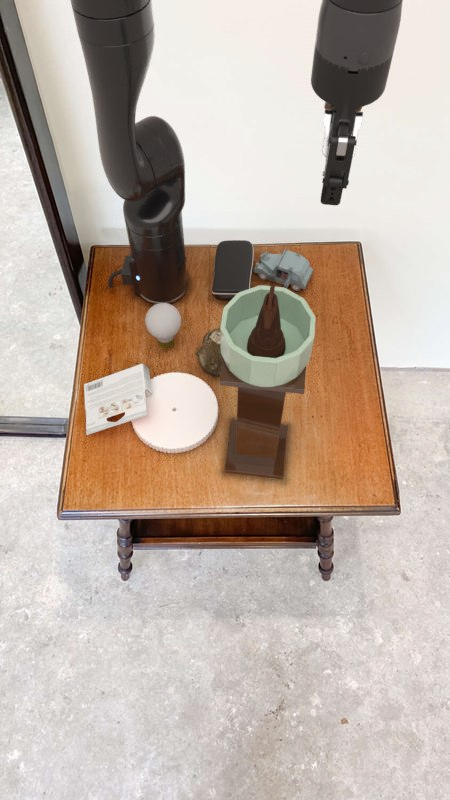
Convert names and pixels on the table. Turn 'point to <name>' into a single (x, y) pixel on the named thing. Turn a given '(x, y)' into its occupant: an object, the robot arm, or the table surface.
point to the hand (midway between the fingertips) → (331, 176)
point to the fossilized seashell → (211, 353)
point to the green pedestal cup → (263, 379)
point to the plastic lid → (177, 413)
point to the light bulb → (163, 323)
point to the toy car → (285, 269)
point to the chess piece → (267, 330)
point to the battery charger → (232, 268)
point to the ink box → (117, 398)
